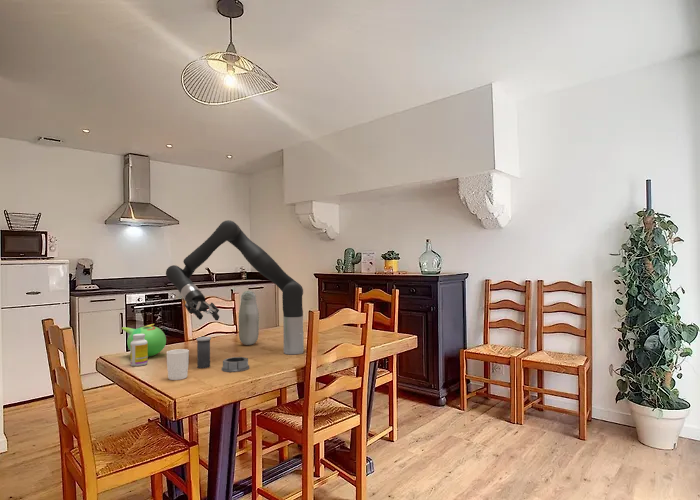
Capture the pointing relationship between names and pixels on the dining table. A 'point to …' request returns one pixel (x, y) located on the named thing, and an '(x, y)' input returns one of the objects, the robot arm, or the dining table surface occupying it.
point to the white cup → (177, 364)
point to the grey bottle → (248, 319)
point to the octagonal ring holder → (235, 364)
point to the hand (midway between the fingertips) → (209, 318)
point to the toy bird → (149, 338)
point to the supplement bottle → (138, 350)
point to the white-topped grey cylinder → (203, 352)
